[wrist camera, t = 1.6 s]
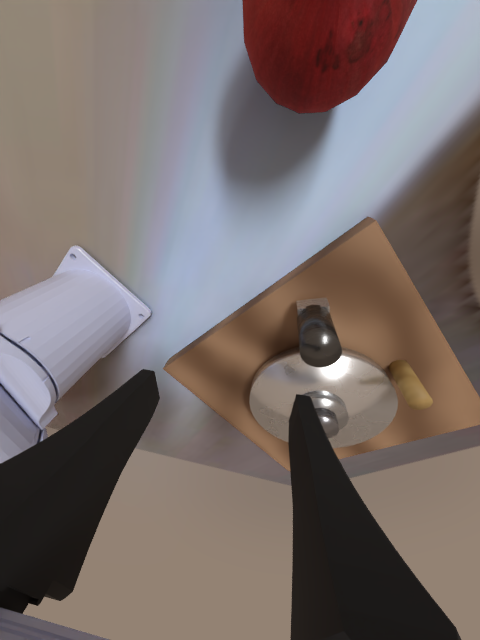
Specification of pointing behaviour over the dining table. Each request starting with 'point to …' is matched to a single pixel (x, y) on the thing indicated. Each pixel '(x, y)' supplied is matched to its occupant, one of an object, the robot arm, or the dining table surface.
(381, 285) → the base board
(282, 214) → the dining table surface
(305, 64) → the red oval fruit
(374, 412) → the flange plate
